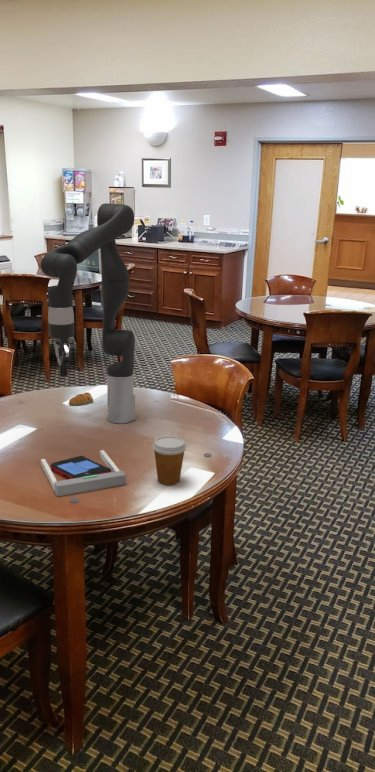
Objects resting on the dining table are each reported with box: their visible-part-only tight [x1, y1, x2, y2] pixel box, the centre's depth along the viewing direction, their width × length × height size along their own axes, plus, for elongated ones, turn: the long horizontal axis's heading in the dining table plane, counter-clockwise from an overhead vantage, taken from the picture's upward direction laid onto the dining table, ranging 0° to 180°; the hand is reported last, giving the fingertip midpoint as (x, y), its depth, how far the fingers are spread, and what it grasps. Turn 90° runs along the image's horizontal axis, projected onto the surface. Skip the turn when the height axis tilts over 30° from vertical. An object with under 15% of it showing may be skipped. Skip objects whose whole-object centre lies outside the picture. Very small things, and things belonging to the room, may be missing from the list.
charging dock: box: [40, 449, 127, 498], centre depth 172 cm, size 19×21×3 cm
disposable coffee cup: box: [152, 435, 187, 486], centre depth 169 cm, size 10×10×12 cm
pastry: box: [68, 392, 94, 407], centre depth 233 cm, size 9×7×4 cm
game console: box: [50, 455, 111, 480], centre depth 176 cm, size 14×13×2 cm
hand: (63, 375), depth 184 cm, fingers closed
